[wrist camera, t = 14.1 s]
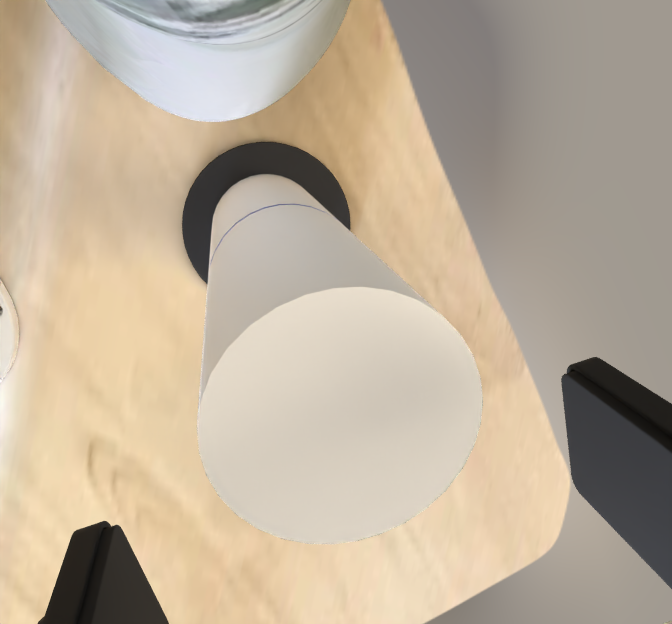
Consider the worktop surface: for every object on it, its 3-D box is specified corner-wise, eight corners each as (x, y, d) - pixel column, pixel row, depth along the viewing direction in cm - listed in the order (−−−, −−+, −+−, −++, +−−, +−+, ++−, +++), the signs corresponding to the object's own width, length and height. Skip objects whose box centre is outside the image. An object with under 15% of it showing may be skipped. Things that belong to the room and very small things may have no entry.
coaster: (205, 321, 39) (205, 323, 38) (162, 158, 35) (162, 159, 34) (359, 288, 40) (361, 290, 40) (335, 128, 36) (337, 128, 36)
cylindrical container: (315, 168, 36) (483, 266, 13) (325, 274, 39) (482, 514, 16) (203, 180, 35) (170, 312, 12) (221, 288, 38) (222, 569, 15)
